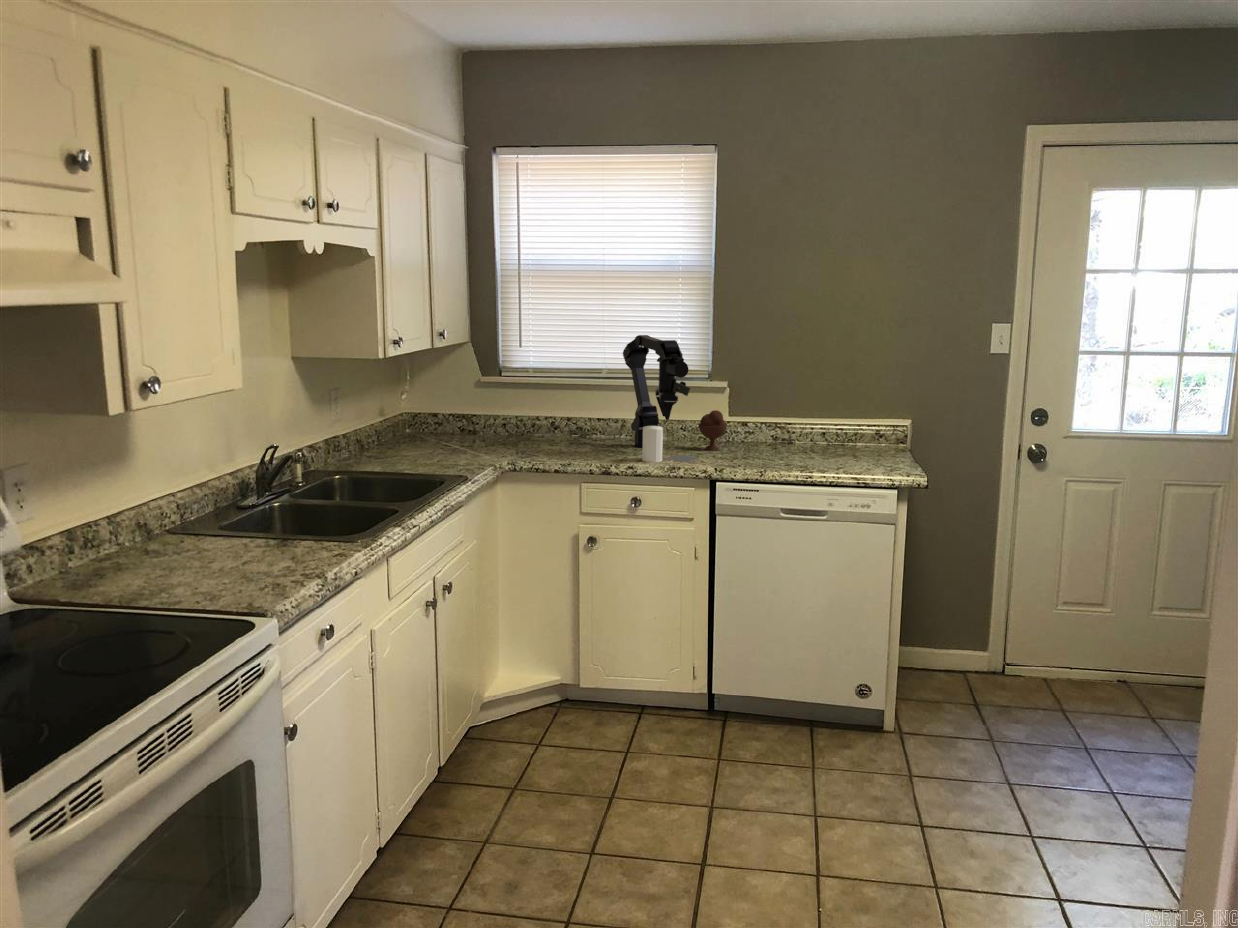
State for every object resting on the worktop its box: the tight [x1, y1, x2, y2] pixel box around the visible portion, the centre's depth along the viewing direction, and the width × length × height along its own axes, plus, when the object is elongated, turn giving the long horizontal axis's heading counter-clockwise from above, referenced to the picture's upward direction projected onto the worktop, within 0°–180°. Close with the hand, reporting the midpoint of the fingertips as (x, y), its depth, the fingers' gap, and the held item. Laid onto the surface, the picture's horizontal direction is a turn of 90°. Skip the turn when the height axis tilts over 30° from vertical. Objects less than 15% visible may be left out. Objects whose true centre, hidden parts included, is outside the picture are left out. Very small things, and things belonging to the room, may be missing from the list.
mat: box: [664, 454, 700, 463], centre depth 332 cm, size 9×9×1 cm
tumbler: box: [641, 425, 664, 463], centre depth 327 cm, size 7×7×12 cm
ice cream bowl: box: [698, 409, 728, 452], centre depth 352 cm, size 11×11×15 cm
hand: (665, 418), depth 341 cm, fingers open, 9 cm apart
